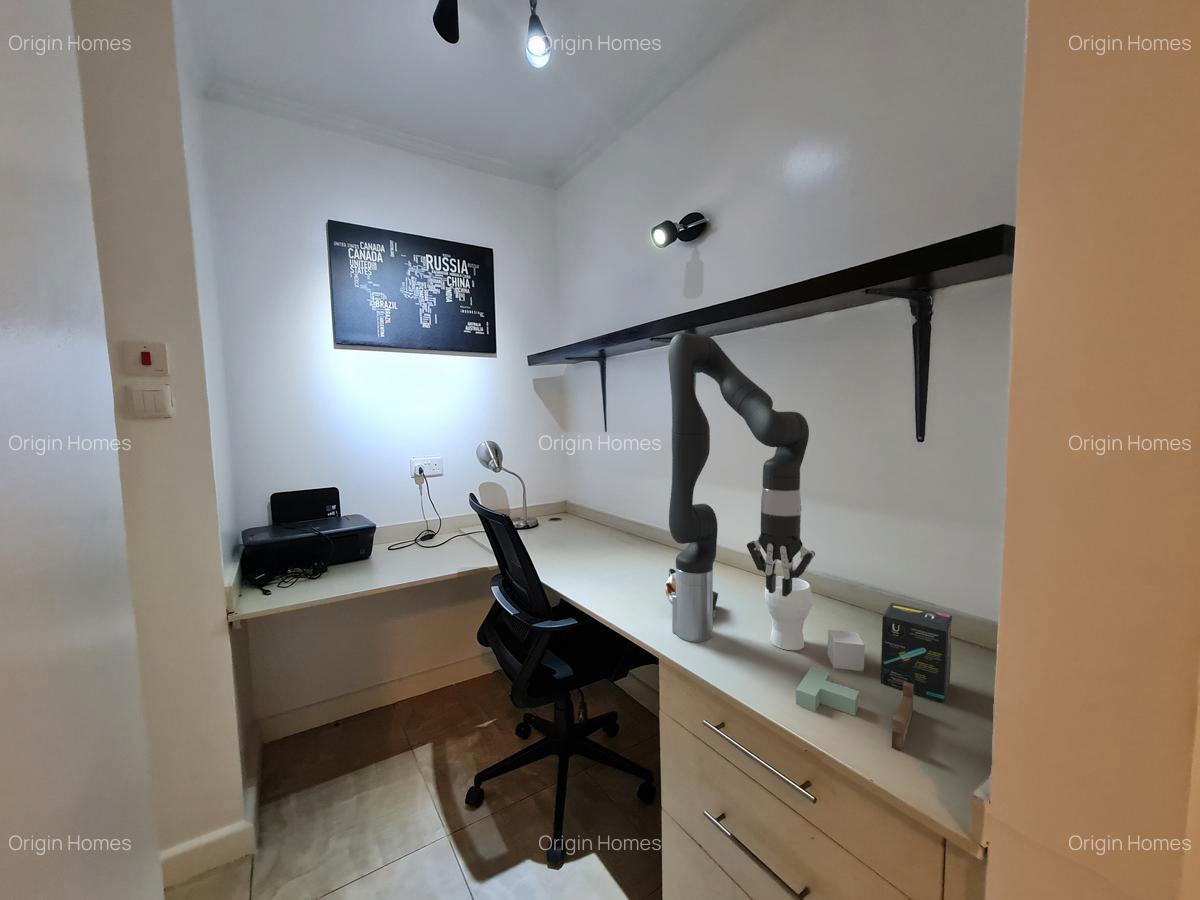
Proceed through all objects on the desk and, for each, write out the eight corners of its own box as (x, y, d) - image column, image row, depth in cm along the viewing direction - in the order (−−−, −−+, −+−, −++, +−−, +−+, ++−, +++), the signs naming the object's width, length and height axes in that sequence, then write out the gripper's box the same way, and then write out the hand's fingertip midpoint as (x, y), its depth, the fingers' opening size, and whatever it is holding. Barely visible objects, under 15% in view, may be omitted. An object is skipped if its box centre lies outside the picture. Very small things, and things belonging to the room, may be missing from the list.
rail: (891, 747, 77) (892, 718, 77) (903, 706, 88) (904, 681, 87) (902, 751, 76) (903, 722, 76) (912, 709, 87) (913, 684, 86)
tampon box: (950, 683, 95) (953, 614, 94) (945, 704, 88) (948, 630, 87) (888, 665, 102) (890, 600, 101) (879, 683, 95) (881, 614, 94)
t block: (795, 704, 89) (796, 689, 89) (811, 681, 96) (811, 667, 96) (850, 724, 83) (851, 708, 83) (862, 698, 90) (862, 683, 90)
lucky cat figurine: (714, 626, 121) (689, 583, 120) (674, 633, 128) (650, 592, 126) (723, 591, 134) (701, 551, 132) (687, 599, 140) (666, 561, 139)
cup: (807, 635, 116) (808, 577, 115) (814, 656, 106) (816, 593, 105) (762, 630, 119) (763, 573, 118) (765, 650, 109) (766, 588, 108)
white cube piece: (827, 654, 107) (828, 629, 107) (856, 657, 106) (856, 632, 105) (833, 668, 101) (834, 641, 101) (863, 671, 100) (864, 644, 100)
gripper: (740, 509, 95) (739, 591, 96) (811, 518, 86) (809, 608, 87) (754, 503, 101) (752, 581, 102) (822, 511, 92) (820, 596, 93)
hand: (778, 593), depth 95 cm, fingers closed
